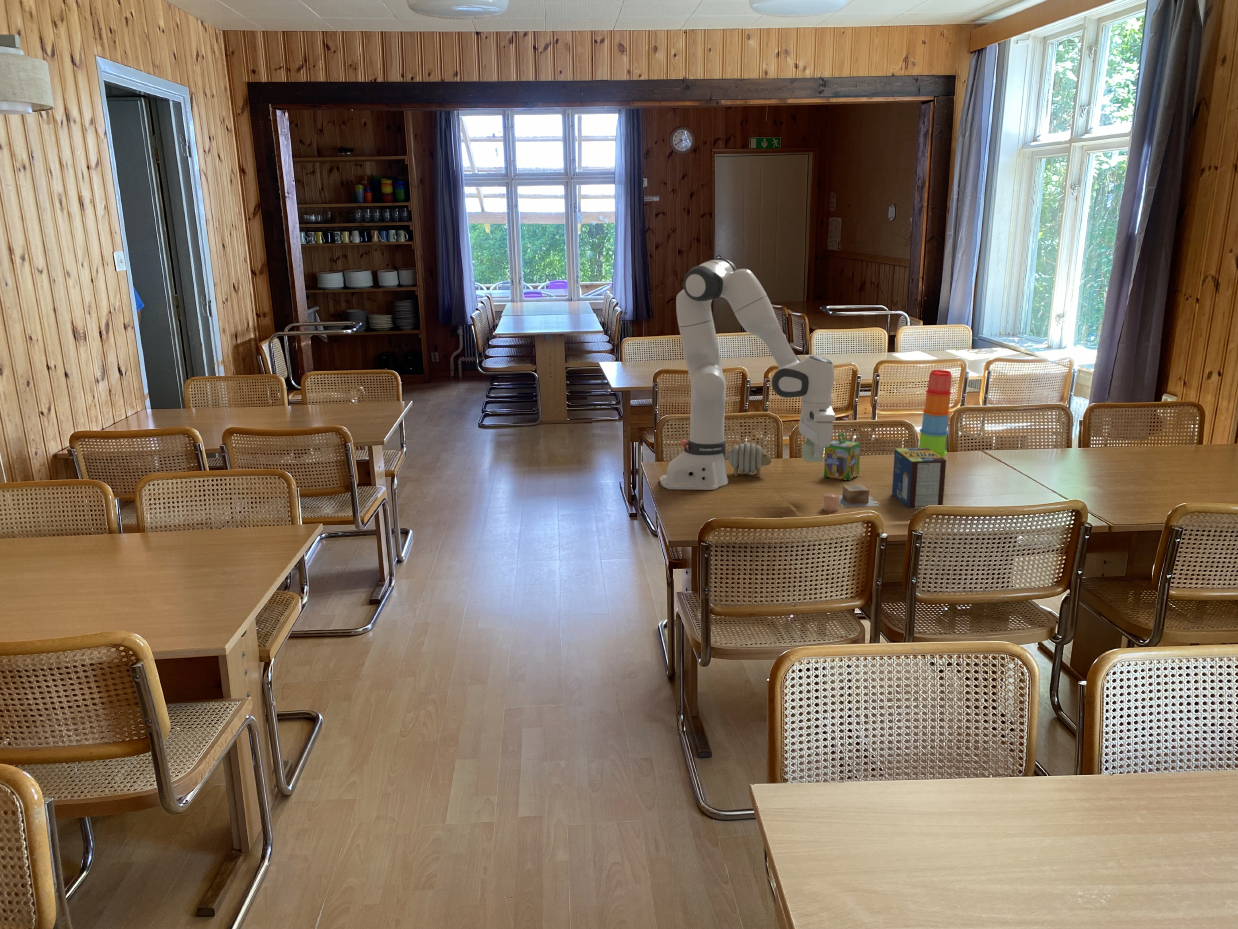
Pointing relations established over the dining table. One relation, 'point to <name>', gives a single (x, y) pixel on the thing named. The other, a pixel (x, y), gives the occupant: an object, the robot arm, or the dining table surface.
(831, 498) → the terracotta cylinder
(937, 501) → the protein box
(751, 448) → the toy sheep
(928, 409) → the stacking cups
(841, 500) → the slate board
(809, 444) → the sage block
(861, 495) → the walnut base block
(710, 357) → the robot arm
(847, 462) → the colorful toy box
